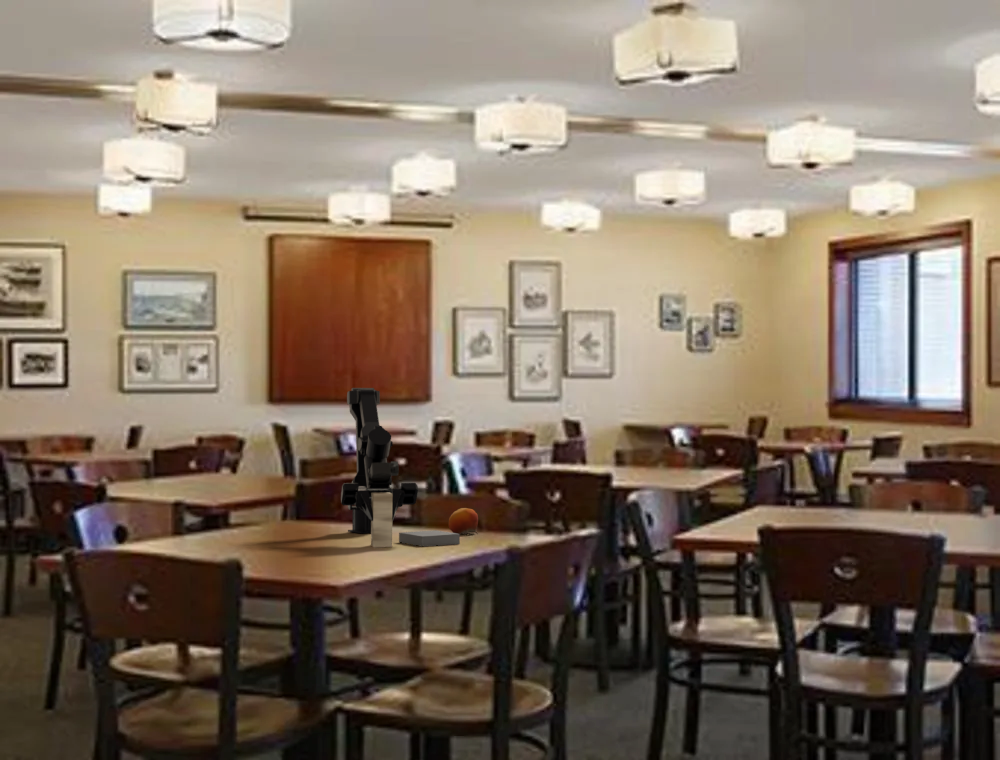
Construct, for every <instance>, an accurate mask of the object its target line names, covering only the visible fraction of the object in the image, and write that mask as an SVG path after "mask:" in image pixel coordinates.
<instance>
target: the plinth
mask: <svg viewBox="0 0 1000 760" xmlns="http://www.w3.org/2000/svg"><path fill="white" fill-rule="evenodd" d="M460 536H461V534H456V533H453V532H449V531H442V530H420V531H406V532H405V531H402V532H398V543H399V542H402V543H401V544H405V543H408V544H407V545H410V544H413V545H412V546H416V545H419V546H418V547H422V546H424V547H436V545H438V546H449V545H460V544H461V542H460Z"/></svg>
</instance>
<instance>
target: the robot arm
mask: <svg viewBox="0 0 1000 760" xmlns="http://www.w3.org/2000/svg"><path fill="white" fill-rule="evenodd" d="M380 392H381V391H380V390H376V389H375V387H352V388H351V389H350V390H349V391H347V394H346V403H347V405H348V406H349V413H350V414H351V416H352V417H353V419H354V422H355V445H356V446H355V447H356V448H355V449H356V454H355V455H356V474H355V476H354V478H353V479H352V481H351V482H346V483H345V482H343V484H342V485H341V492H340V503H341V505H342V506H347V509H348V510H350V511H352V529H348V530H347V532H349V533H357V534H358V533H359V534H369V533H370V534H371V521H373V511H372V507H371V493H386V492H390V493H392V522H393V521H394V519H395V515H396V512H397V510H398V509H399V508H400V507H403V506H406V505H407V506H408V505H409V506H412V505H415V504H417V499H418V498H417V497H418V491H419V487H418V484H417V483H416V482H401V483H400V488H393V487H391V486H392V481H393V480H392V476H393V477H396V476H398V475H399V471H400V470H399V462H398V461H390V462H388V460H387V459H388V457H389V455H390V450H391V448H392V447H393V446H394V445H393V444H394V443H393V441H392V435H391V433H390V432H389V431H388V430H386V428H384V426H382V425H380V420H379V414H378V412H379V411H378V405H380V404H381V403H380V401H381V396H380Z"/></svg>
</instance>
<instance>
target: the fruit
mask: <svg viewBox="0 0 1000 760" xmlns="http://www.w3.org/2000/svg"><path fill="white" fill-rule="evenodd" d="M478 524H479V515H478V513H477V512H476V510H474V509H472V508H467V507H461V508H458V509H457V510H455V511H454V512H453V513H451V515H450V516H449V518H448V528H449V530H450V531H451V533H456V534H460V535H464V534H465V535H468V533H470V534H471V533H476V534H477V535H478V534H479V532H477V529H478Z"/></svg>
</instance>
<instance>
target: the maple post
mask: <svg viewBox="0 0 1000 760" xmlns="http://www.w3.org/2000/svg"><path fill="white" fill-rule="evenodd" d="M371 507H372V511H373V521H371V533H370V546H371V547H373V548H392V547H393V521H392V493H390V492H386V493H371Z"/></svg>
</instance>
